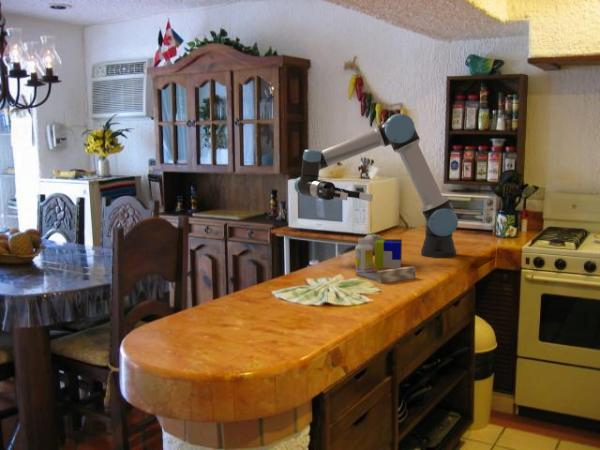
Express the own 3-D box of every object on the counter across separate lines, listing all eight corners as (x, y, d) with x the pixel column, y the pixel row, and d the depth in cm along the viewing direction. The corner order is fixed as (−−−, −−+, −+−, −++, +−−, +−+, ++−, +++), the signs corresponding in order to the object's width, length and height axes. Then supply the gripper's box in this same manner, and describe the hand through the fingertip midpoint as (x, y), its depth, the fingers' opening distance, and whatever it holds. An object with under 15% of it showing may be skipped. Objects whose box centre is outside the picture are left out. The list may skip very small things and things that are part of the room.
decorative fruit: (386, 254, 274) (386, 232, 273) (370, 256, 271) (370, 233, 270) (376, 251, 283) (376, 229, 282) (360, 252, 280) (360, 231, 279)
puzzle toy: (400, 268, 243) (400, 243, 242) (374, 267, 245) (375, 242, 244) (401, 263, 253) (401, 239, 252) (376, 263, 255) (377, 239, 254)
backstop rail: (411, 277, 225) (411, 266, 225) (415, 278, 223) (415, 267, 223) (376, 282, 217) (377, 271, 216) (380, 283, 215) (380, 272, 215)
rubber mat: (385, 271, 237) (385, 269, 236) (409, 277, 225) (409, 275, 225) (355, 275, 229) (355, 273, 229) (379, 281, 217) (379, 280, 217)
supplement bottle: (374, 270, 238) (374, 237, 237) (370, 273, 232) (370, 239, 231) (357, 269, 241) (357, 236, 239) (353, 272, 234) (353, 239, 233)
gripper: (344, 199, 263) (380, 207, 247) (299, 198, 247) (334, 206, 231) (346, 182, 262) (382, 189, 246) (301, 179, 246) (337, 186, 230)
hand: (359, 197), depth 239 cm, fingers open, 13 cm apart
